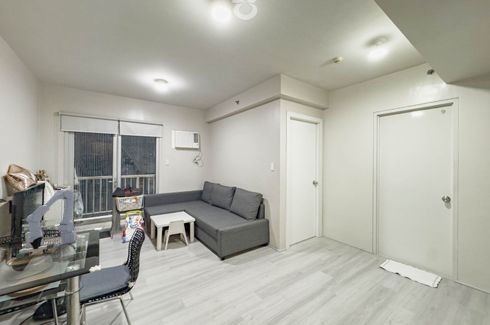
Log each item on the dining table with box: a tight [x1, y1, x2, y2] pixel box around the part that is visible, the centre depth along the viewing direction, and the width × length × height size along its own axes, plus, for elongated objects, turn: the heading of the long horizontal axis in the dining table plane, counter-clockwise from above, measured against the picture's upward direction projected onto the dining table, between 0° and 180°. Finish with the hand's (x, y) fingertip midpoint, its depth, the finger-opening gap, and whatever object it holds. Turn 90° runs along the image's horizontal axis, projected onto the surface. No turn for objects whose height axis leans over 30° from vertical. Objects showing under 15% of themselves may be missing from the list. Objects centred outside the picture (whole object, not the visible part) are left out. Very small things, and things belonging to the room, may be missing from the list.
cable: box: [18, 243, 55, 254], centre depth 149 cm, size 18×3×3 cm, turn 114°
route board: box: [13, 248, 59, 261], centre depth 149 cm, size 21×9×4 cm, turn 114°
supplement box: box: [24, 229, 45, 249], centre depth 164 cm, size 7×7×13 cm
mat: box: [29, 244, 64, 253], centre depth 157 cm, size 22×6×1 cm, turn 114°
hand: (37, 248), depth 149 cm, fingers closed on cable, 2 cm apart
